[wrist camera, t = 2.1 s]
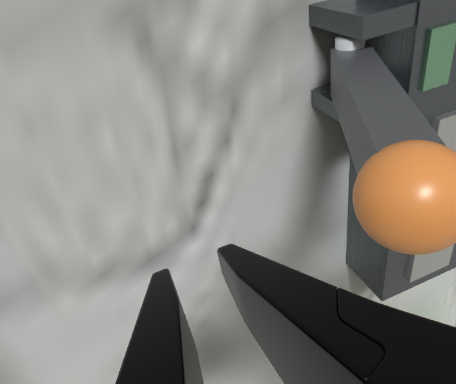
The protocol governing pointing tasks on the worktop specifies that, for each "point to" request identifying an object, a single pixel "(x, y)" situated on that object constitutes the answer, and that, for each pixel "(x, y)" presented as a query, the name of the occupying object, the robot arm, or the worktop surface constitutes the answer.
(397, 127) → the orange knob lever
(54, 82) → the worktop surface
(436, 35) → the switch strip
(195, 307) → the worktop surface
